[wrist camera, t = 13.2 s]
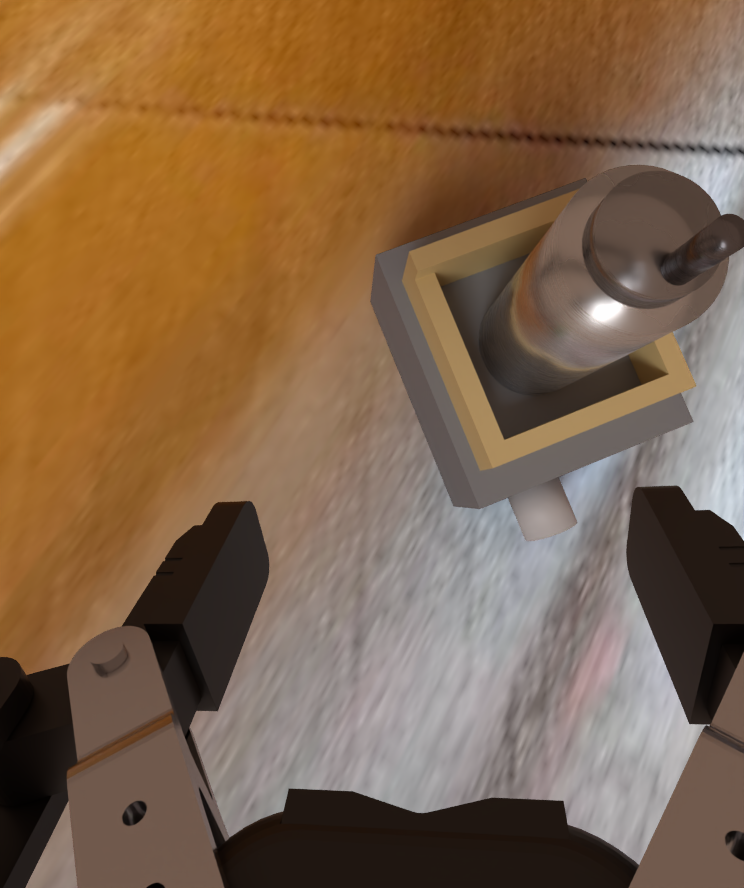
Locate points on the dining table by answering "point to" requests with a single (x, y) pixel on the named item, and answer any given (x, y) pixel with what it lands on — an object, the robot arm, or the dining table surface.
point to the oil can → (609, 278)
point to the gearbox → (487, 401)
